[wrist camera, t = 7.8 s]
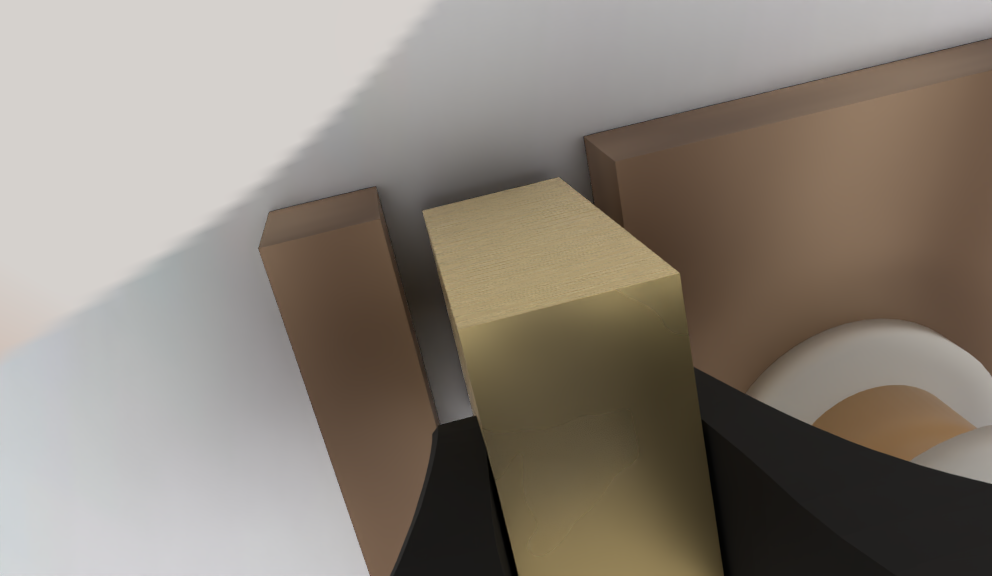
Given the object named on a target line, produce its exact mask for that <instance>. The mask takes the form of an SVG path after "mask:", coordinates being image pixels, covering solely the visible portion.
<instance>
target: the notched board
mask: <svg viewBox="0 0 992 576" xmlns="http://www.w3.org/2000/svg"><path fill="white" fill-rule="evenodd" d="M584 142H585V148H586V155H587V161H588V167H589V174H590V180H591V187H592V193H593V199H594V205H595V206H596V207H597V208H598V209H600V210H601V211H602V212H603V213H605V214H606V215H607V216H608V217H610V218H611V219H612V220H614V221H615V222H616V223H617V224H619V225H620V226H621V227H622V228H624V229H625V230H626V231H627V232H629V233H630V234H631V235H632V236H634V237H635V238H636V239H637V240H639V241H640V242H641V243H643V244H644V245H645V246H646V247H648V248H649V249H650V250H651V251H653V252H654V253H655V254H656V255H658V256H659V257H660V258H661V259H663V260H664V261H665V262H666V263H668V264H669V265H670V266H672V267H673V268H674V269H675V270H677V271H678V272H679V273H680V278H681V285H682V292H683V299H684V306H685V313H686V319H687V326H688V333H689V340H690V347H691V354H692V361H693V367H695V368H697V369H699V370H701V371H703V372H705V373H707V374H708V375H710V376H712V377H714V378H716V379H718V380H720V381H722V382H724V383H726V384H728V385H729V386H731V387H733V388H735V389H737V390H739V391H741V392H743V393H745V394H746V392H747V391H748V389H749V388H750V387H751V385H752V384H753V383H754V382H755V381H756V380H757V379H758V378H759V376H760V375H761V374H762V373H763V372H764V371H765V370H766V369H767V368H768V367H769V366H771V365H772V364H773V363H774V362H775V361H776V360H777V359H778V358H780V357H781V356H782V355H784V354H785V353H786V352H788V351H789V350H791V349H792V348H793V347H795V346H797V345H798V344H800V343H802V342H803V341H805V340H807V339H808V338H810V337H812V336H815V335H817V334H819V333H821V332H823V331H826V330H828V329H831V328H834V327H837V326H840V325H843V324H846V323H851V322H856V321H861V320H869V319H899V320H904V321H909V322H914V323H917V324H919V325H922V326H925V327H927V328H930V329H931V330H933V331H935V332H937V333H938V334H940V335H942V336H943V337H945V338H946V339H948V340H950V341H951V342H953V343H954V344H956V345H957V346H959V347H960V348H962V349H963V350H965V351H966V352H968V353H969V354H971V355H972V356H973V357H974V358H975V359H977V360H978V361H979V362H980V363H981V364H982V365H983V366H984V367H985V369H986V370H987V371H988V372H989V373H990V375H991V377H992V38H991V39H987V40H983V41H979V42H974V43H970V44H966V45H962V46H958V47H954V48H949V49H945V50H941V51H937V52H933V53H929V54H925V55H920V56H916V57H912V58H908V59H904V60H900V61H895V62H891V63H887V64H883V65H879V66H875V67H870V68H866V69H862V70H858V71H854V72H850V73H845V74H841V75H837V76H833V77H829V78H825V79H820V80H816V81H812V82H808V83H804V84H800V85H795V86H791V87H787V88H783V89H779V90H775V91H771V92H766V93H762V94H758V95H754V96H750V97H746V98H741V99H737V100H733V101H729V102H725V103H721V104H716V105H712V106H708V107H704V108H700V109H696V110H691V111H687V112H683V113H679V114H675V115H671V116H666V117H662V118H658V119H654V120H650V121H646V122H642V123H637V124H633V125H629V126H625V127H621V128H617V129H612V130H608V131H604V132H600V133H596V134H592V135H587V136H584ZM258 249H259V252H260V255H261V258H262V261H263V264H264V267H265V270H266V272H267V275H268V278H269V281H270V284H271V287H272V290H273V293H274V296H275V299H276V302H277V305H278V308H279V310H280V313H281V316H282V319H283V322H284V325H285V328H286V331H287V334H288V337H289V340H290V343H291V346H292V349H293V351H294V354H295V357H296V360H297V363H298V366H299V369H300V372H301V375H302V378H303V381H304V384H305V387H306V390H307V392H308V395H309V398H310V401H311V404H312V407H313V410H314V413H315V416H316V419H317V422H318V425H319V428H320V430H321V433H322V436H323V439H324V442H325V445H326V448H327V451H328V454H329V457H330V460H331V463H332V466H333V469H334V471H335V474H336V477H337V480H338V483H339V486H340V489H341V492H342V495H343V498H344V501H345V504H346V507H347V509H348V512H349V515H350V518H351V521H352V524H353V527H354V530H355V533H356V536H357V539H358V542H359V545H360V548H361V550H362V553H363V556H364V559H365V562H366V565H367V568H368V571H369V574H370V576H390V574H391V572H392V570H393V568H394V565H395V563H396V561H397V558H398V556H399V553H400V551H401V548H402V545H403V543H404V540H405V538H406V535H407V533H408V530H409V528H410V525H411V522H412V519H413V516H414V513H415V510H416V507H417V503H418V500H419V497H420V494H421V490H422V487H423V484H424V480H425V476H426V471H427V467H428V463H429V458H430V452H431V445H432V434H433V432H434V431H435V429H436V428H437V426H438V425H440V422H439V419H438V415H437V411H436V407H435V404H434V400H433V396H432V392H431V389H430V385H429V381H428V378H427V374H426V370H425V366H424V363H423V359H422V355H421V352H420V348H419V344H418V340H417V337H416V333H415V329H414V326H413V322H412V318H411V314H410V311H409V307H408V303H407V300H406V296H405V292H404V288H403V285H402V281H401V277H400V274H399V270H398V266H397V262H396V259H395V255H394V251H393V248H392V244H391V240H390V236H389V233H388V229H387V225H386V222H385V218H384V214H383V210H382V207H381V203H380V199H379V196H378V192H377V188H376V186H375V187H371V188H367V189H363V190H359V191H354V192H350V193H346V194H342V195H338V196H334V197H329V198H325V199H321V200H317V201H313V202H309V203H304V204H300V205H296V206H292V207H288V208H284V209H279V210H275V211H271V212H269V214H268V218H267V221H266V224H265V228H264V231H263V234H262V238H261V241H260V244H259V248H258Z"/></svg>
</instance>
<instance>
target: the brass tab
mask: <svg viewBox="0 0 992 576" xmlns="http://www.w3.org/2000/svg"><path fill="white" fill-rule="evenodd" d="M422 212H423V216H424V220H425V224H426V228H427V232H428V236H429V240H430V244H431V248H432V252H433V256H434V260H435V264H436V268H437V272H438V276H439V280H440V284H441V288H442V292H443V296H444V300H445V304H446V308H447V312H448V316H449V320H450V324H451V328H452V332H453V336H454V340H455V344H456V348H457V352H458V356H459V360H460V364H461V368H462V372H463V376H464V380H465V384H466V388H467V392H468V396H469V400H470V404H471V408H472V412H473V416H477V420H478V423H479V426H480V430H481V433H482V437H483V440H484V443H485V447H486V450H487V455H488V459H489V463H490V467H491V471H492V475H493V479H494V483H495V487H496V491H497V495H498V499H499V503H500V507H501V511H502V515H503V520H504V524H505V528H506V532H507V536H508V540H509V544H510V548H511V552H512V556H513V560H514V564H515V568H516V572H517V576H724V573H723V566H722V559H721V552H720V545H719V538H718V531H717V525H716V518H715V511H714V504H713V497H712V490H711V484H710V477H709V470H708V463H707V456H706V449H705V443H704V436H703V429H702V422H701V415H700V408H699V402H698V395H697V388H696V381H695V374H694V367H693V361H692V354H691V347H690V340H689V333H688V326H687V319H686V313H685V306H684V299H683V292H682V285H681V278H680V273H679V272H678V271H677V270H675V269H674V268H673V267H672V266H670V265H669V264H668V263H666V262H665V261H664V260H663V259H661V258H660V257H659V256H658V255H656V254H655V253H654V252H653V251H651V250H650V249H649V248H648V247H646V246H645V245H644V244H643V243H641V242H640V241H639V240H637V239H636V238H635V237H634V236H632V235H631V234H630V233H629V232H627V231H626V230H625V229H624V228H622V227H621V226H620V225H619V224H617V223H616V222H615V221H614V220H612V219H611V218H610V217H608V216H607V215H606V214H605V213H603V212H602V211H601V210H600V209H598V208H597V207H596V206H595V205H593V204H592V203H591V202H590V201H588V200H587V199H586V198H585V197H583V196H582V195H581V194H580V193H578V192H577V191H576V190H574V189H573V188H572V187H571V186H569V185H568V184H567V183H566V182H564V181H563V180H562V179H561V178H559V177H558V178H554V179H549V180H545V181H541V182H537V183H533V184H529V185H525V186H521V187H517V188H513V189H509V190H505V191H500V192H496V193H492V194H488V195H484V196H480V197H476V198H472V199H468V200H464V201H460V202H456V203H451V204H447V205H443V206H439V207H435V208H431V209H427V210H423V211H422Z"/></svg>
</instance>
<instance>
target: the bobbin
mask: <svg viewBox="0 0 992 576" xmlns="http://www.w3.org/2000/svg"><path fill="white" fill-rule="evenodd" d="M746 394H747V395H749V396H751V397H753V398H755V399H757V400H759V401H761V402H763V403H765V404H767V405H769V406H771V407H773V408H775V409H777V410H779V411H781V412H783V413H786V414H788V415H790V416H792V417H794V418H796V419H799V420H801V421H803V422H805V423H808V424H810V425H812V426H815V427H817V428H819V429H822V430H824V431H827V432H829V433H831V434H834V435H836V436H839V437H841V438H844V439H846V440H848V441H851V442H854V443H856V444H859V445H862V446H864V447H867V448H870V449H873V450H876V451H879V452H882V453H885V454H888V455H891V456H894V457H897V458H900V459H903V460H906V461H909V462H912V463H915V464H918V465H922V466H925V467H929V468H932V469H936V470H939V471H943V472H946V473H950V474H954V475H958V476H962V477H966V478H970V479H974V480H978V481H982V482H986V483H991V484H992V377H991V375H990V373H989V372H988V371H987V370H986V369H985V367H984V366H983V365H982V364H981V363H980V362H979V361H978V360H977V359H975V358H974V357H973V356H972V355H971V354H969V353H968V352H966V351H965V350H963V349H962V348H960V347H959V346H957V345H956V344H954V343H953V342H951V341H950V340H948V339H946V338H945V337H943V336H942V335H940V334H938V333H937V332H935V331H933V330H931V329H930V328H927V327H925V326H922V325H919V324H917V323H914V322H909V321H904V320H899V319H869V320H861V321H856V322H851V323H846V324H843V325H840V326H837V327H834V328H831V329H828V330H826V331H823V332H821V333H819V334H817V335H815V336H812V337H810V338H808V339H807V340H805V341H803V342H802V343H800V344H798V345H797V346H795V347H793V348H792V349H791V350H789V351H788V352H786V353H785V354H784V355H782V356H781V357H780V358H778V359H777V360H776V361H775V362H774V363H773V364H772V365H771V366H769V367H768V368H767V369H766V370H765V371H764V372H763V373H762V374H761V375H760V376H759V378H758V379H757V380H756V381H755V382H754V383H753V384H752V385H751V387H750V388H749V389H748V391H747V392H746Z"/></svg>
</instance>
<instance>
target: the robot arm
mask: <svg viewBox="0 0 992 576" xmlns="http://www.w3.org/2000/svg"><path fill="white" fill-rule="evenodd" d="M694 374H695V381H696V388H697V395H698V402H699V408H700V415H701V422H702V429H703V436H704V443H705V449H706V456H707V463H708V470H709V477H710V484H711V490H712V497H713V504H714V511H715V518H716V525H717V531H718V538H719V545H720V552H721V559H722V566H723V573H724V576H992V484H991V483H986V482H982V481H978V480H974V479H970V478H966V477H962V476H958V475H954V474H950V473H946V472H943V471H939V470H936V469H932V468H929V467H925V466H922V465H918V464H915V463H912V462H909V461H906V460H903V459H900V458H897V457H894V456H891V455H888V454H885V453H882V452H879V451H876V450H873V449H870V448H867V447H864V446H862V445H859V444H856V443H854V442H851V441H848V440H846V439H844V438H841V437H839V436H836V435H834V434H831V433H829V432H827V431H824V430H822V429H819V428H817V427H815V426H812V425H810V424H808V423H805V422H803V421H801V420H799V419H796V418H794V417H792V416H790V415H788V414H786V413H783V412H781V411H779V410H777V409H775V408H773V407H771V406H769V405H767V404H765V403H763V402H761V401H759V400H757V399H755V398H753V397H751V396H749V395H747V394H745V393H743V392H741V391H739V390H737V389H735V388H733V387H731V386H729V385H728V384H726V383H724V382H722V381H720V380H718V379H716V378H714V377H712V376H710V375H708V374H707V373H705V372H703V371H701V370H699V369H697V368H695V367H694ZM390 576H517V572H516V568H515V564H514V560H513V556H512V552H511V548H510V544H509V540H508V536H507V532H506V528H505V524H504V520H503V515H502V511H501V507H500V503H499V499H498V495H497V491H496V487H495V483H494V479H493V475H492V471H491V467H490V463H489V459H488V455H487V450H486V447H485V443H484V440H483V437H482V433H481V430H480V426H479V423H478V420H477V416H472V417H468V418H465V419H461V420H457V421H453V422H450V423H446V424H442V425H438V426H437V428H436V429H435V431H434V432H433V434H432V445H431V452H430V458H429V463H428V467H427V471H426V476H425V480H424V484H423V487H422V490H421V494H420V497H419V500H418V503H417V507H416V510H415V513H414V516H413V519H412V522H411V525H410V528H409V530H408V533H407V535H406V538H405V540H404V543H403V545H402V548H401V551H400V553H399V556H398V558H397V561H396V563H395V565H394V568H393V570H392V572H391V574H390Z"/></svg>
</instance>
